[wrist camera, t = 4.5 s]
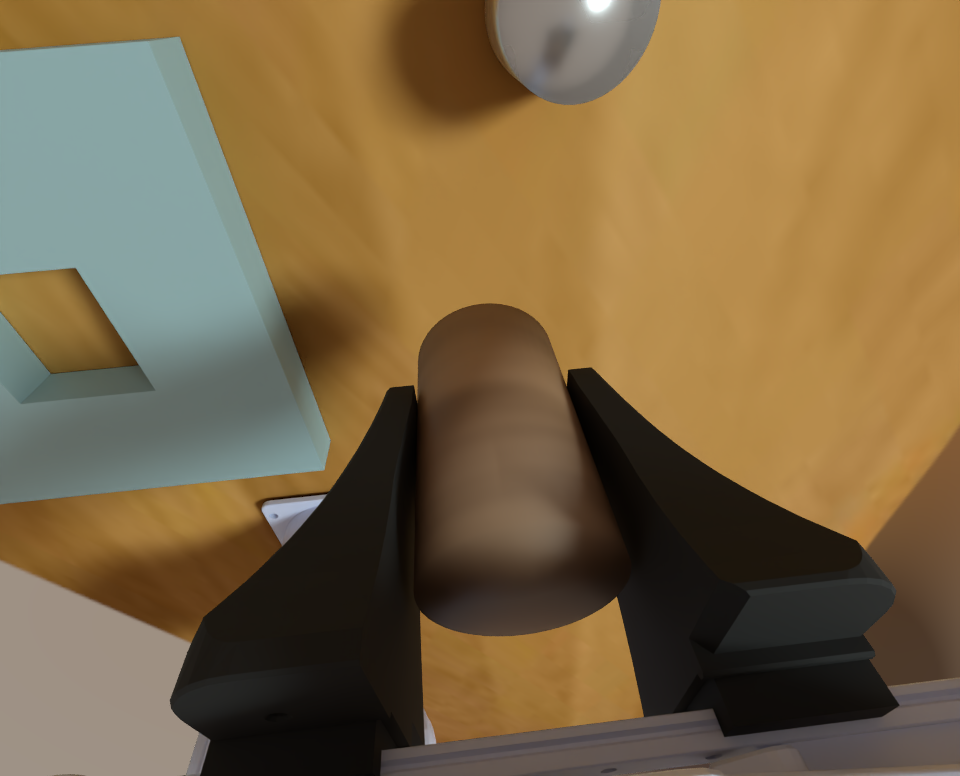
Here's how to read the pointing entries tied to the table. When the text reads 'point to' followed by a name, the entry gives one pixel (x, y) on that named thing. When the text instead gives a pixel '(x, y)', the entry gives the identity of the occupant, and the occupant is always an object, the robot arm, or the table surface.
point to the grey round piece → (570, 43)
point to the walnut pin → (506, 484)
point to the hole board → (139, 284)
